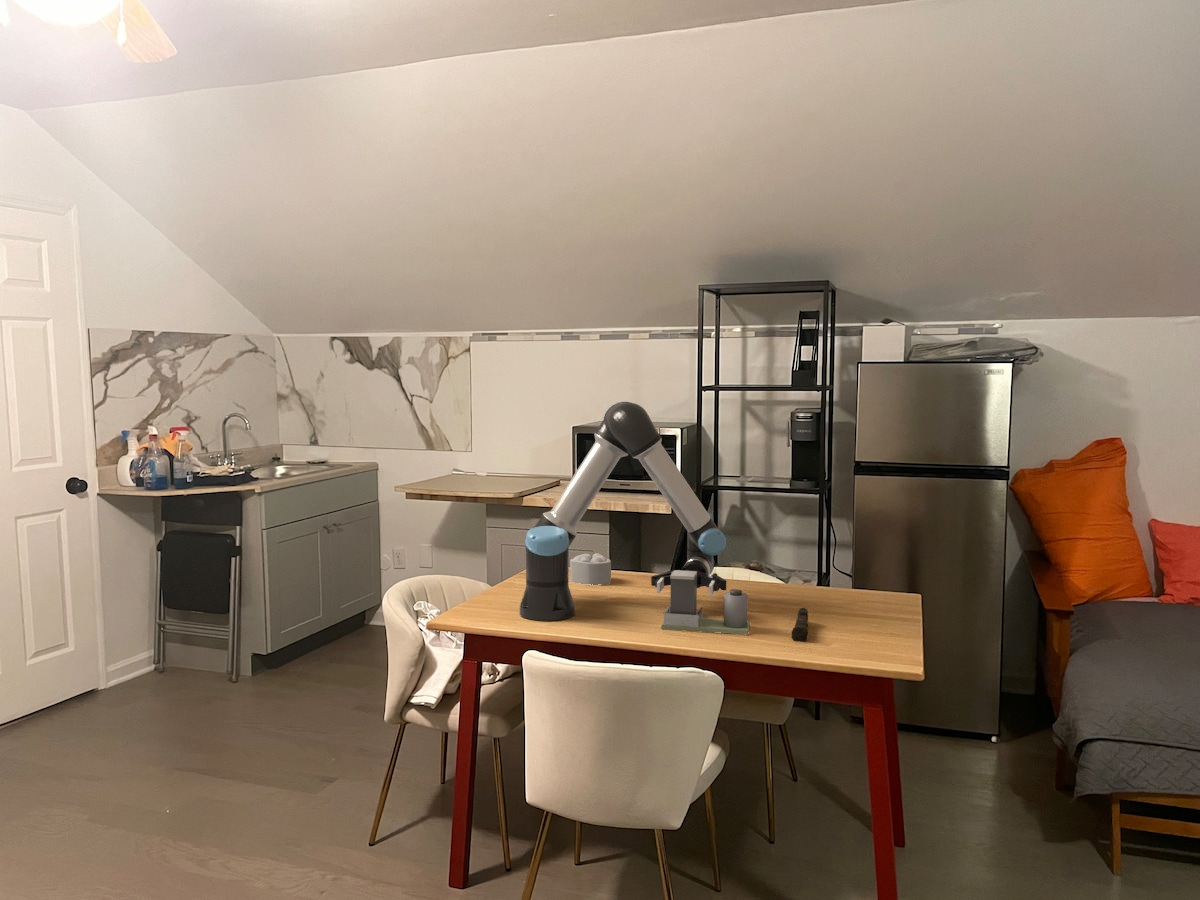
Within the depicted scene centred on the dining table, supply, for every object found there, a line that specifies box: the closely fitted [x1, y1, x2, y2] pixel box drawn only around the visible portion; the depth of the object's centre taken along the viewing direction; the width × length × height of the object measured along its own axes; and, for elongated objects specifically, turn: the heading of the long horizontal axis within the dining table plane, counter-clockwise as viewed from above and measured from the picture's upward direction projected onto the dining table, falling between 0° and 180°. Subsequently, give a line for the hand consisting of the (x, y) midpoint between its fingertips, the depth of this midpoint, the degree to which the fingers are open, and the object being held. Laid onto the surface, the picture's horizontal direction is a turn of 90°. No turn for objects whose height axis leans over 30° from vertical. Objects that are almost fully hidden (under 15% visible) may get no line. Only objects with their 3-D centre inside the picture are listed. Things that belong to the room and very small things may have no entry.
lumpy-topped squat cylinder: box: [569, 553, 612, 585], centre depth 278 cm, size 10×13×9 cm
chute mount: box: [663, 604, 704, 627], centre depth 226 cm, size 9×8×3 cm
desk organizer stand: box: [661, 588, 751, 636], centre depth 225 cm, size 22×9×10 cm, turn 76°
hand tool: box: [791, 607, 809, 643], centre depth 222 cm, size 19×4×5 cm, turn 161°
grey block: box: [670, 569, 698, 615], centre depth 226 cm, size 6×7×13 cm
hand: (683, 589), depth 225 cm, fingers open, 13 cm apart
